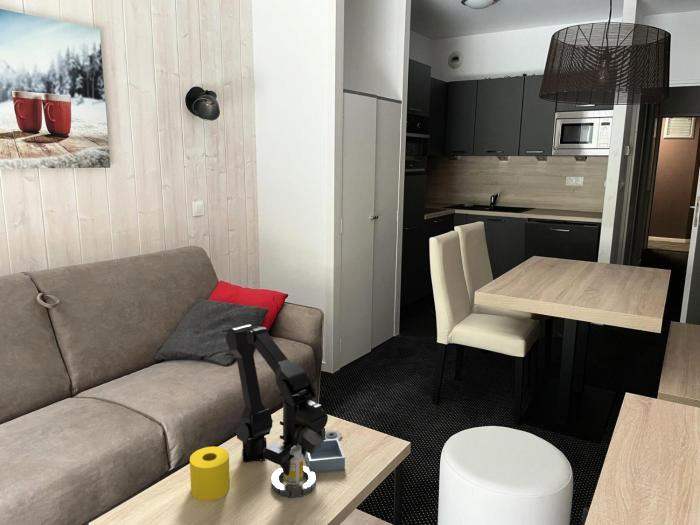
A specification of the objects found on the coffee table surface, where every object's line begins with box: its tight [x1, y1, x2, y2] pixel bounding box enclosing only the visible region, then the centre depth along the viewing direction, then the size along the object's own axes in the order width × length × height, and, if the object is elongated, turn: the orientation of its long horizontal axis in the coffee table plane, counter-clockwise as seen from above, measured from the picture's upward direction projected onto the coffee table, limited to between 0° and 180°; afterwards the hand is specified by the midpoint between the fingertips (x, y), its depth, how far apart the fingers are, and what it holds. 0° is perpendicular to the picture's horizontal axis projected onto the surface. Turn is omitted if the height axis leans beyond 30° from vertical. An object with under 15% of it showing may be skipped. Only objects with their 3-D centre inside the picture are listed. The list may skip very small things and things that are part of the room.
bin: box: [304, 439, 346, 474], centre depth 157 cm, size 10×10×4 cm
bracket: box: [325, 428, 343, 441], centre depth 171 cm, size 7×10×4 cm, turn 67°
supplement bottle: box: [282, 445, 305, 486], centre depth 145 cm, size 5×5×10 cm
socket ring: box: [270, 465, 317, 499], centre depth 146 cm, size 12×12×2 cm
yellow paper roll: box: [189, 446, 231, 502], centre depth 142 cm, size 10×10×9 cm
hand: (293, 469), depth 145 cm, fingers closed on supplement bottle, 5 cm apart
